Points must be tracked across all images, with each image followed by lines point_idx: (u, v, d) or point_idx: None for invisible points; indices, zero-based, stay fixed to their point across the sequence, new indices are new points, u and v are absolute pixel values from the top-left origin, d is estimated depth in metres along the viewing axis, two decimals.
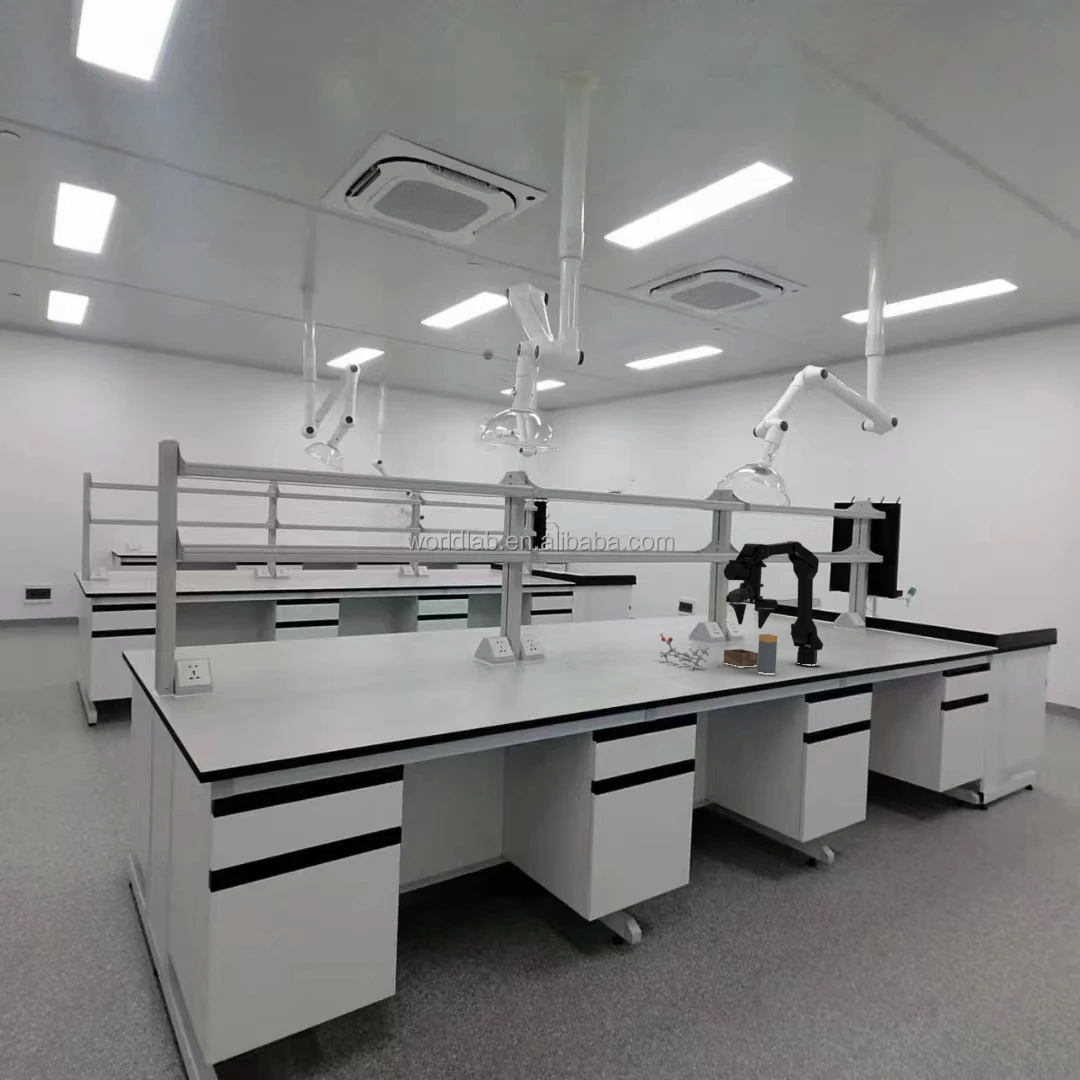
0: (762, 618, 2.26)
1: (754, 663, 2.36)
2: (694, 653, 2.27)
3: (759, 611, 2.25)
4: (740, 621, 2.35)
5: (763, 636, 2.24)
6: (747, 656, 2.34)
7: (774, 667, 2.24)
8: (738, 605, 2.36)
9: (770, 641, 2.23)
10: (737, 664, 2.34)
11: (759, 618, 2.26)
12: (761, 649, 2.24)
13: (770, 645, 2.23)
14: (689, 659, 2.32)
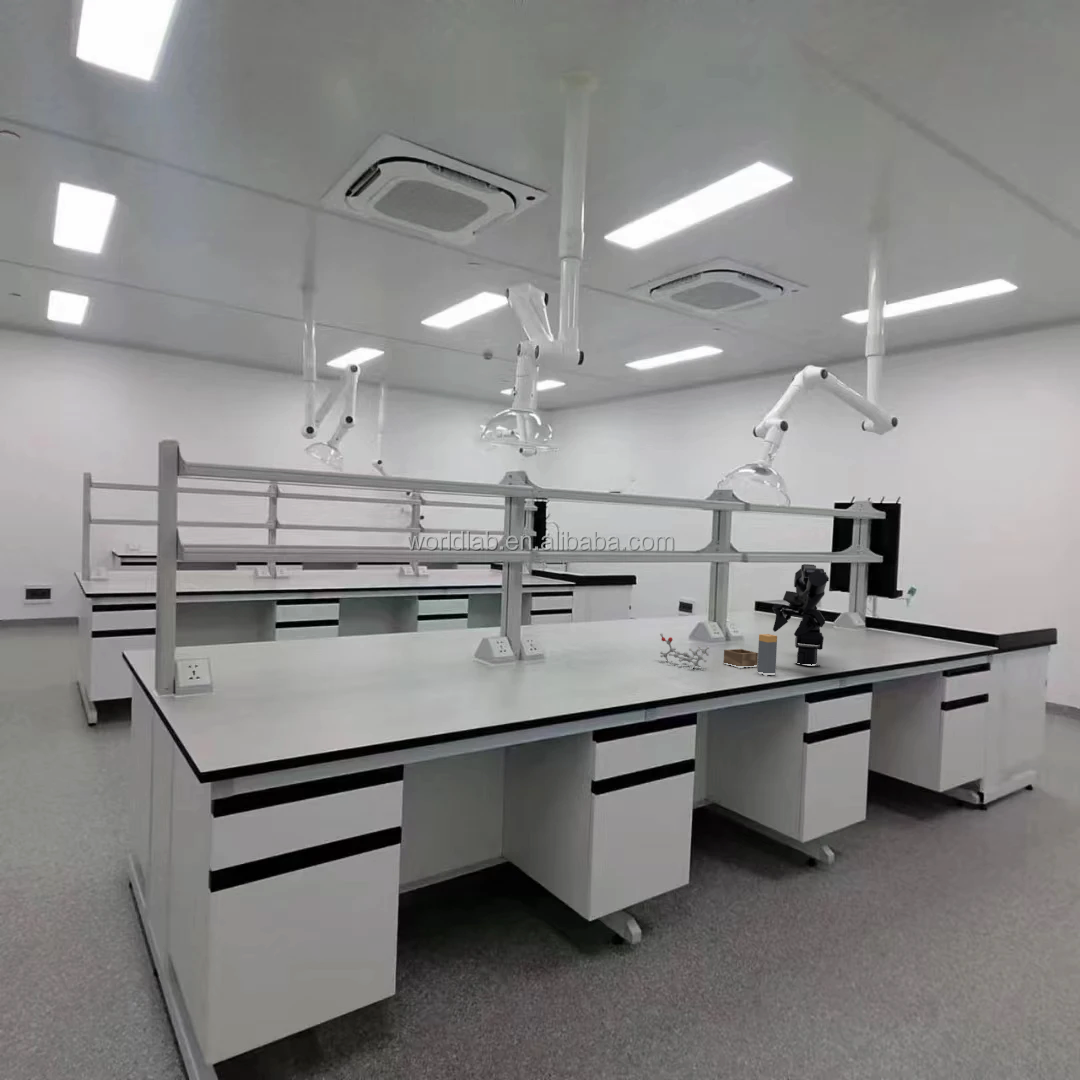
0: (803, 627, 2.24)
1: (754, 663, 2.36)
2: (694, 653, 2.27)
3: (805, 618, 2.24)
4: (775, 628, 2.33)
5: (763, 636, 2.24)
6: (747, 656, 2.34)
7: (774, 667, 2.24)
8: (782, 615, 2.35)
9: (770, 641, 2.23)
10: (737, 664, 2.34)
11: (800, 625, 2.24)
12: (761, 649, 2.24)
13: (770, 645, 2.23)
14: (689, 659, 2.32)
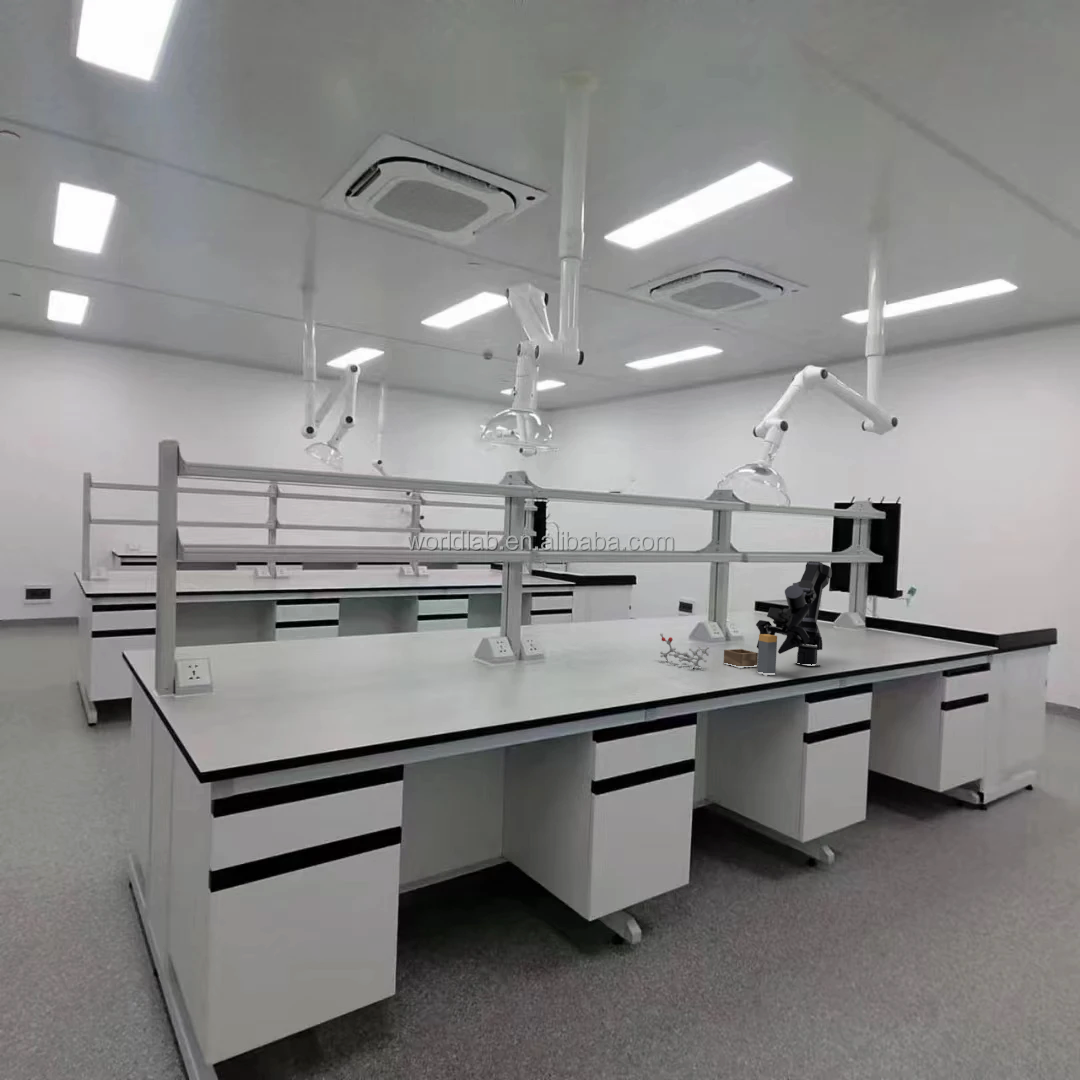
0: (787, 644, 2.21)
1: (754, 663, 2.36)
2: (694, 653, 2.27)
3: (789, 635, 2.21)
4: None
5: (763, 636, 2.24)
6: (747, 656, 2.34)
7: (774, 667, 2.24)
8: (766, 632, 2.31)
9: (770, 641, 2.23)
10: (737, 664, 2.34)
11: (784, 642, 2.21)
12: (761, 649, 2.24)
13: (770, 645, 2.23)
14: (689, 659, 2.32)
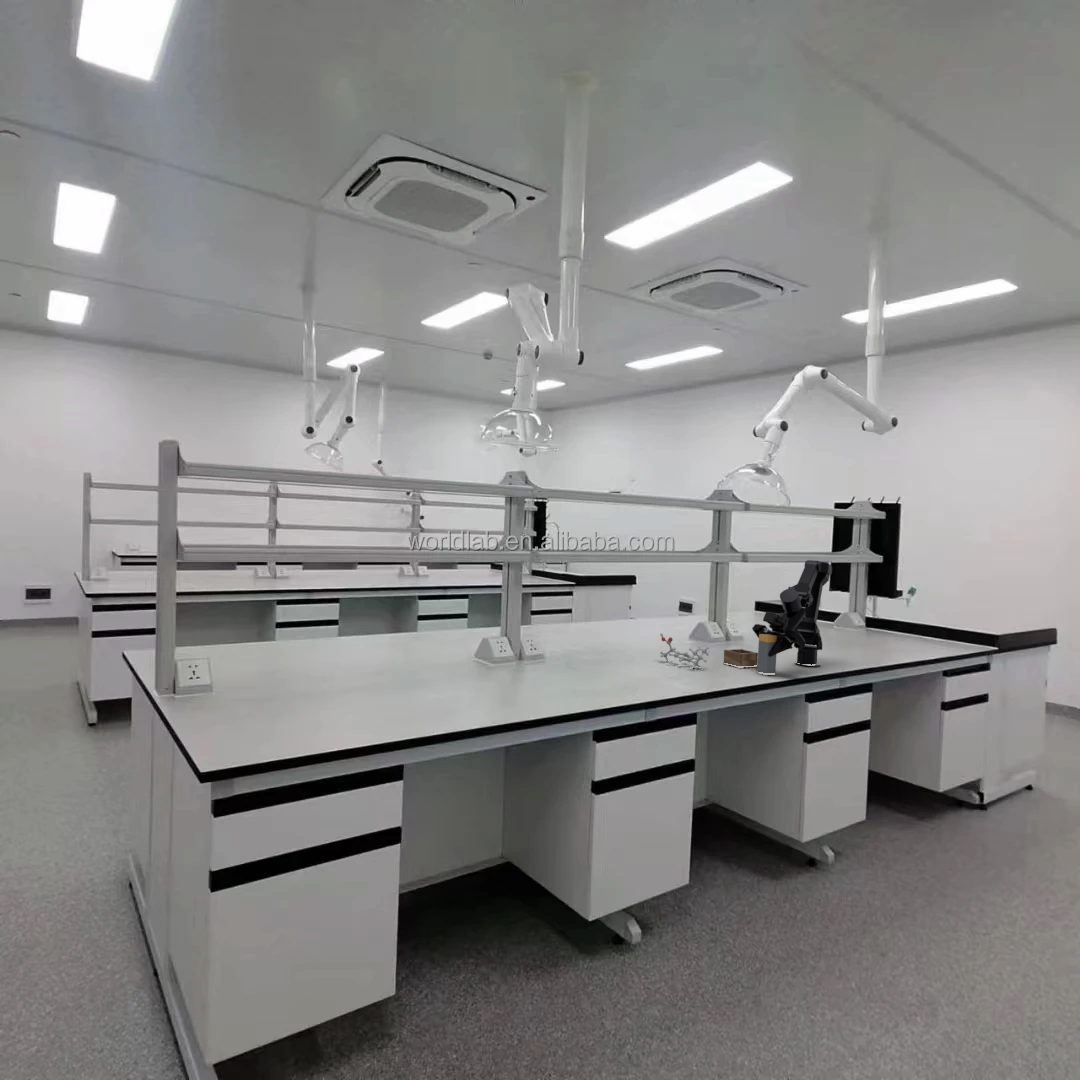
0: (777, 647, 2.22)
1: (754, 663, 2.36)
2: (694, 653, 2.27)
3: (779, 638, 2.22)
4: None
5: (763, 636, 2.24)
6: (747, 656, 2.34)
7: (774, 667, 2.24)
8: None
9: (770, 641, 2.23)
10: (737, 664, 2.34)
11: (774, 646, 2.22)
12: (761, 649, 2.24)
13: (770, 645, 2.23)
14: (689, 659, 2.32)
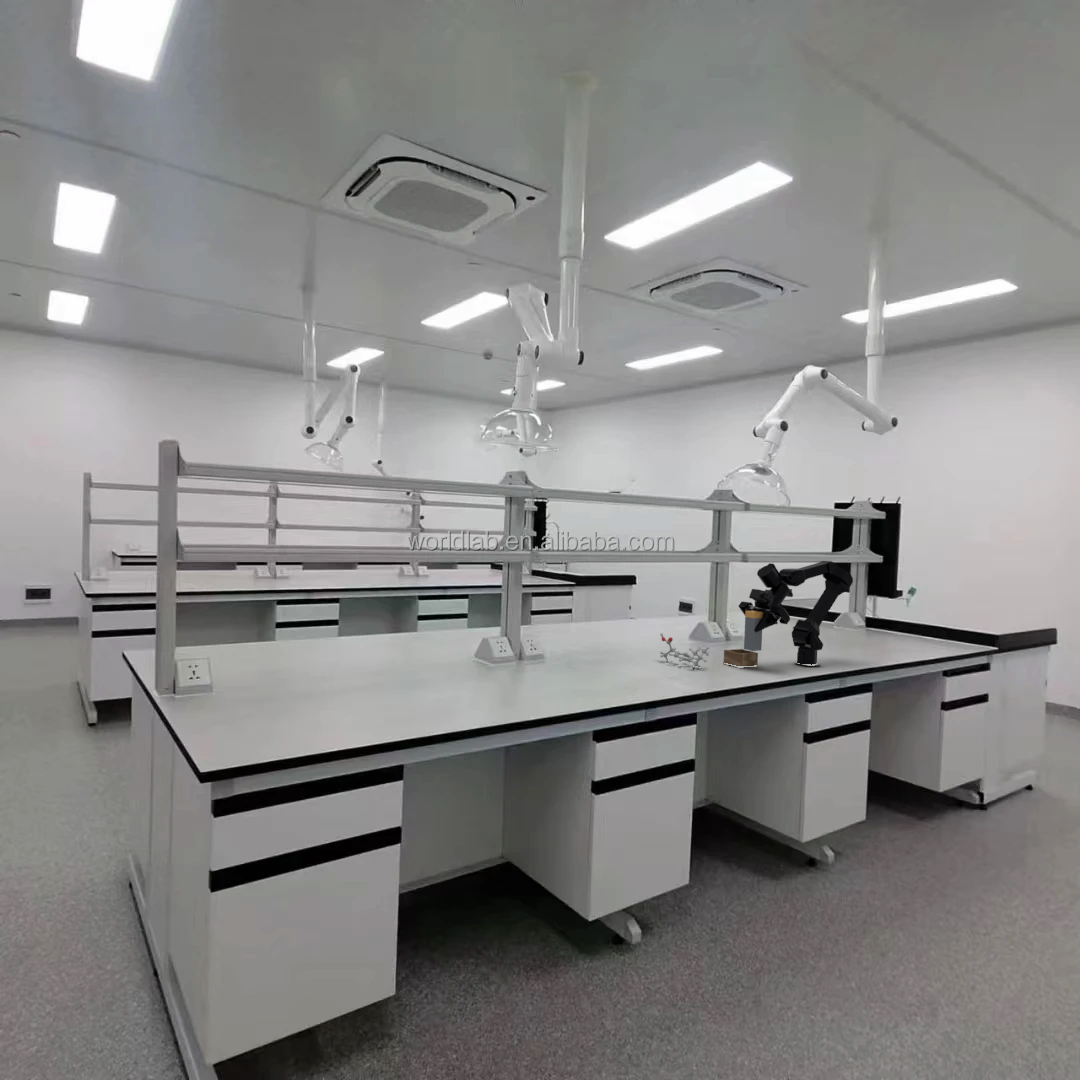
0: (763, 623, 2.30)
1: (754, 663, 2.36)
2: (694, 653, 2.27)
3: (765, 614, 2.30)
4: None
5: (749, 612, 2.31)
6: (747, 656, 2.34)
7: (760, 642, 2.31)
8: None
9: (756, 617, 2.30)
10: (737, 664, 2.34)
11: (760, 621, 2.30)
12: (747, 625, 2.32)
13: (756, 620, 2.30)
14: (689, 659, 2.32)
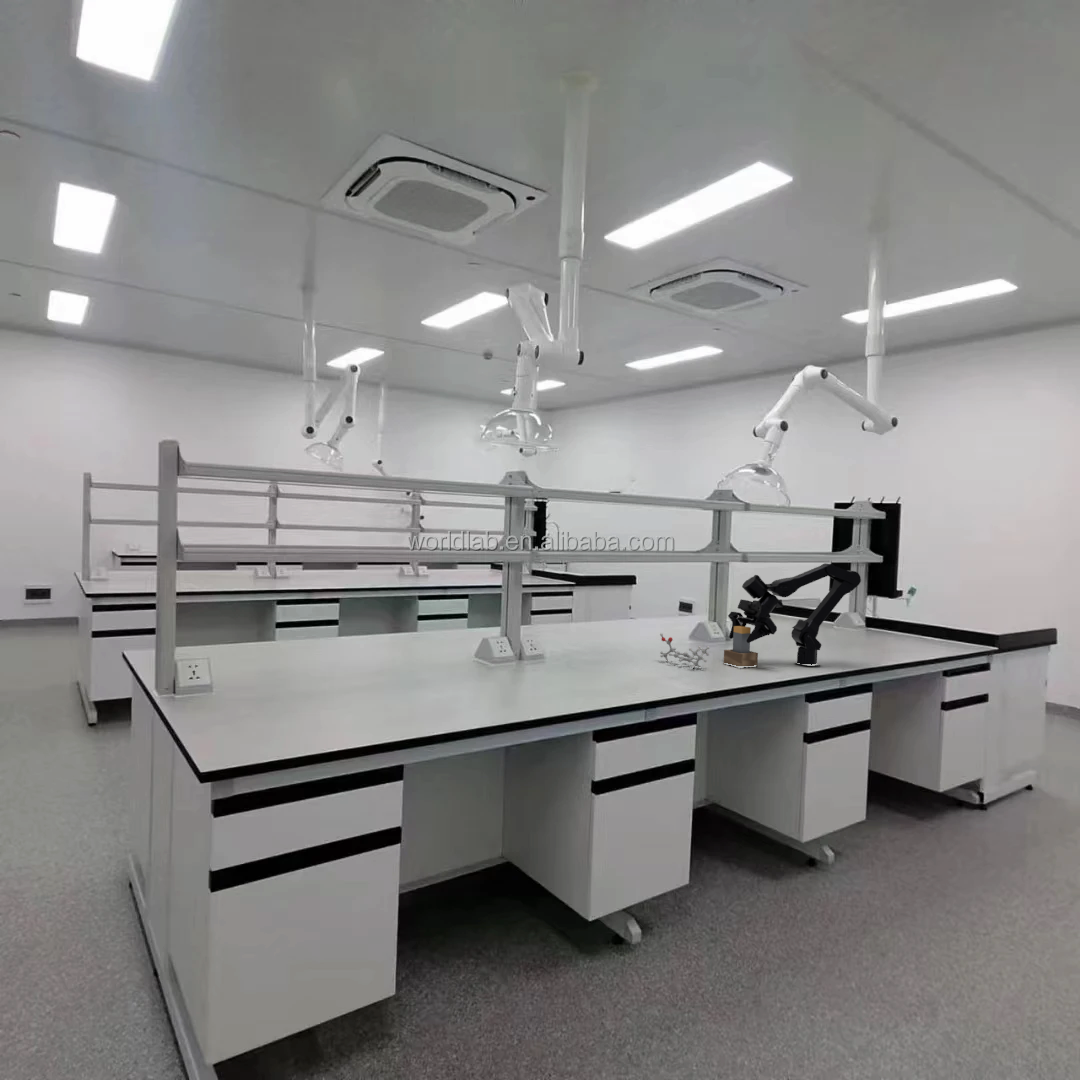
0: (755, 634, 2.34)
1: (754, 663, 2.36)
2: (694, 653, 2.27)
3: (757, 625, 2.34)
4: (731, 635, 2.41)
5: (737, 628, 2.37)
6: (747, 656, 2.34)
7: None
8: (738, 623, 2.44)
9: (744, 632, 2.36)
10: (737, 664, 2.34)
11: (752, 632, 2.34)
12: (735, 640, 2.38)
13: (743, 636, 2.36)
14: (689, 659, 2.32)
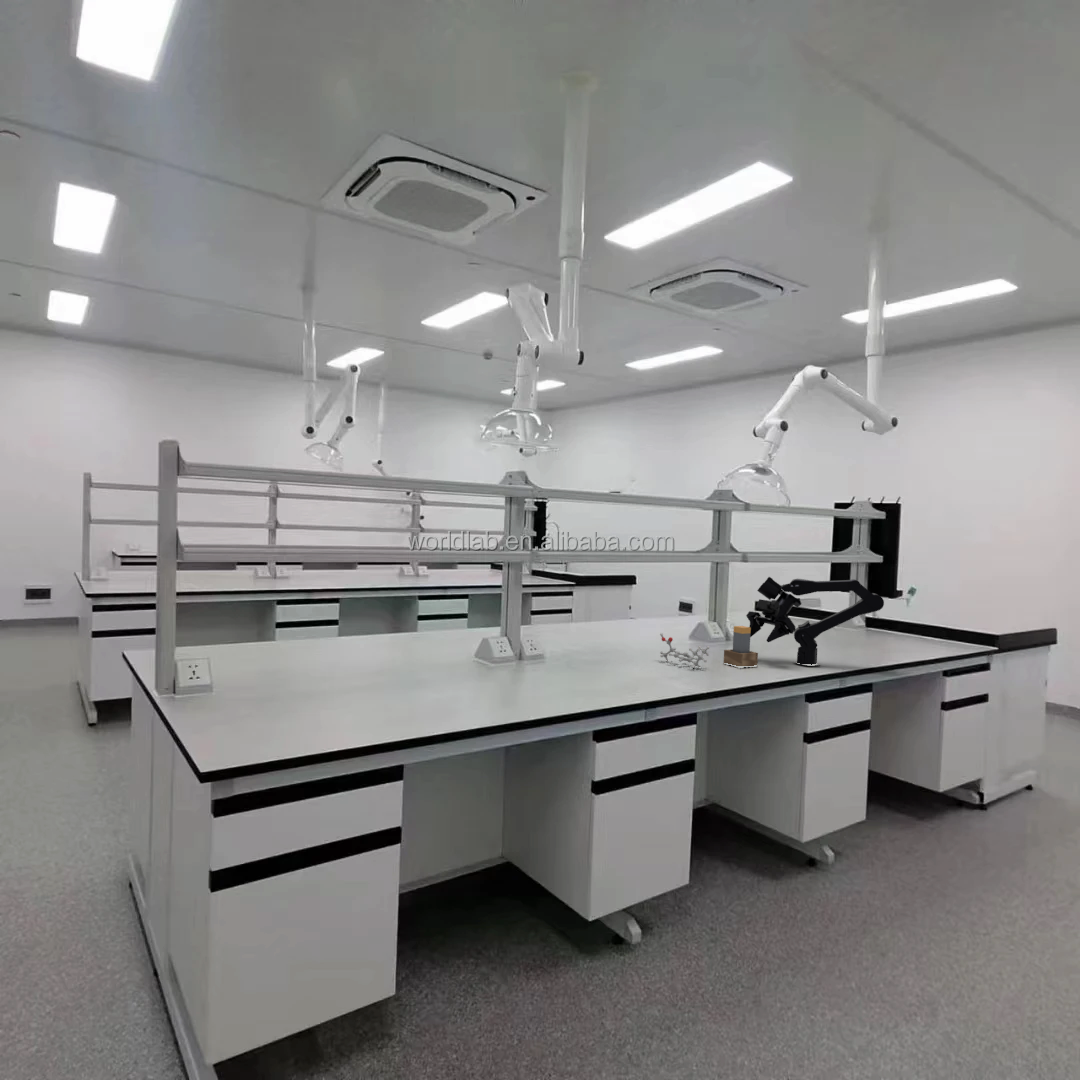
0: (775, 633, 2.37)
1: (754, 663, 2.36)
2: (694, 653, 2.27)
3: (777, 625, 2.37)
4: None
5: (737, 628, 2.37)
6: (747, 656, 2.34)
7: None
8: (755, 622, 2.48)
9: (744, 632, 2.36)
10: (737, 664, 2.34)
11: (772, 632, 2.37)
12: (735, 640, 2.38)
13: (743, 636, 2.36)
14: (689, 659, 2.32)
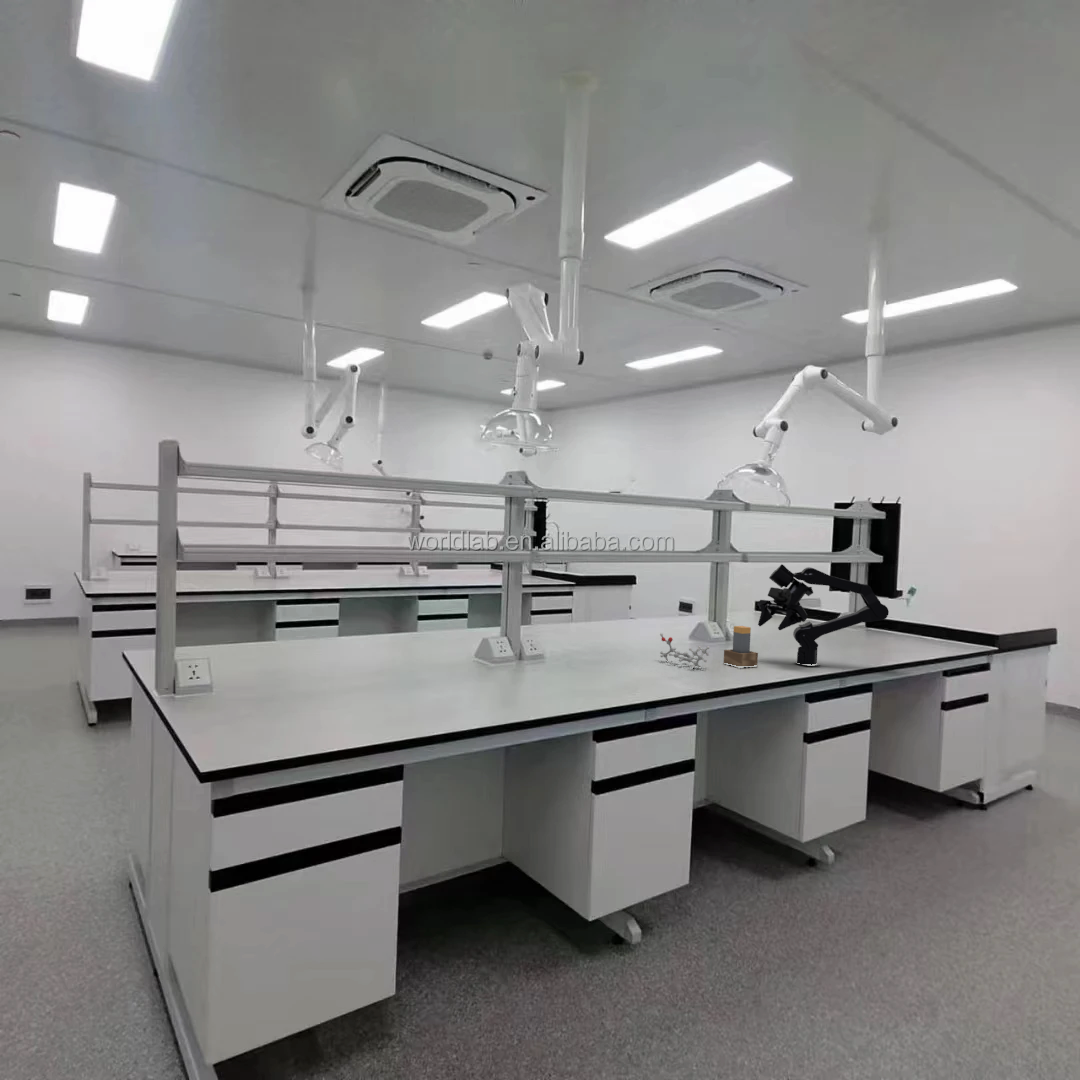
0: (786, 621, 2.36)
1: (754, 663, 2.36)
2: (694, 653, 2.27)
3: (788, 613, 2.36)
4: (761, 623, 2.44)
5: (737, 628, 2.37)
6: (747, 656, 2.34)
7: None
8: (767, 610, 2.46)
9: (744, 632, 2.36)
10: (737, 664, 2.34)
11: (784, 620, 2.36)
12: (735, 640, 2.38)
13: (743, 636, 2.36)
14: (689, 659, 2.32)
